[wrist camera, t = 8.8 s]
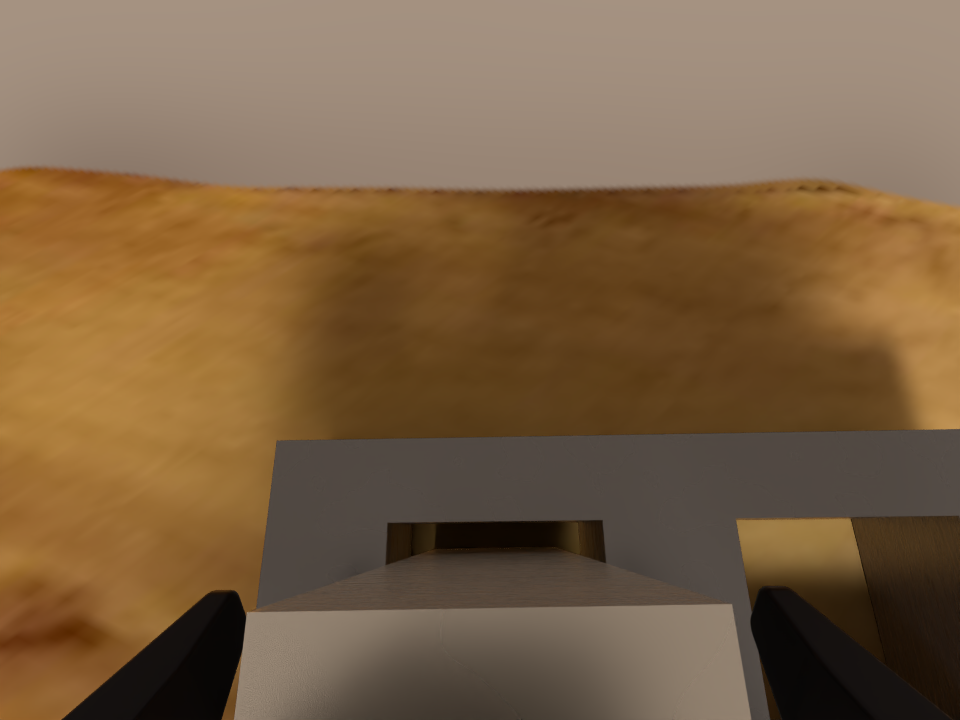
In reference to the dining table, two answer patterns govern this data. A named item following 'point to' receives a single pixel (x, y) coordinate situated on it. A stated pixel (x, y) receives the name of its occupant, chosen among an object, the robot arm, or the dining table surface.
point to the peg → (493, 644)
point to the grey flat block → (649, 517)
